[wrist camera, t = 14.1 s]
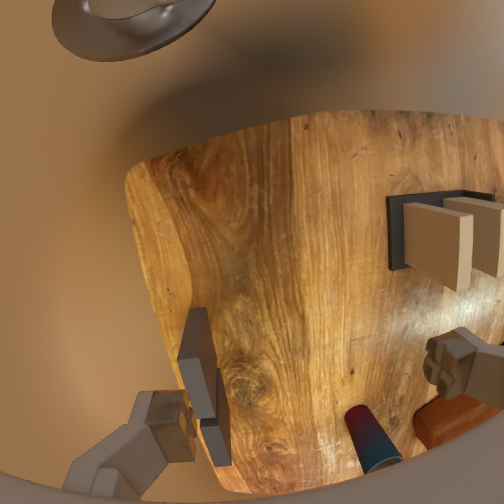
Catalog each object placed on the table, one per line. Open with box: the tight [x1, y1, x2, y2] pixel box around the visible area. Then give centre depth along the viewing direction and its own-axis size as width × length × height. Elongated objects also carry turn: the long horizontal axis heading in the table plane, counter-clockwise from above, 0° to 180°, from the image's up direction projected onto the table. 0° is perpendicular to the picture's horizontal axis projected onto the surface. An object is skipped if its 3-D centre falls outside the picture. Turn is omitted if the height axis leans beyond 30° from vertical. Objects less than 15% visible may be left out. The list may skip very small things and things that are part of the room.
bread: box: [414, 344, 504, 450], centre depth 47 cm, size 14×33×16 cm, turn 118°
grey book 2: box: [200, 368, 232, 467], centre depth 41 cm, size 9×2×13 cm, turn 8°
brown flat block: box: [403, 202, 473, 292], centre depth 36 cm, size 9×2×13 cm, turn 8°
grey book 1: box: [177, 308, 217, 419], centre depth 38 cm, size 9×2×13 cm, turn 8°
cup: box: [345, 405, 404, 475], centre depth 44 cm, size 7×7×15 cm
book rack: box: [386, 190, 504, 278], centre depth 36 cm, size 11×16×14 cm
